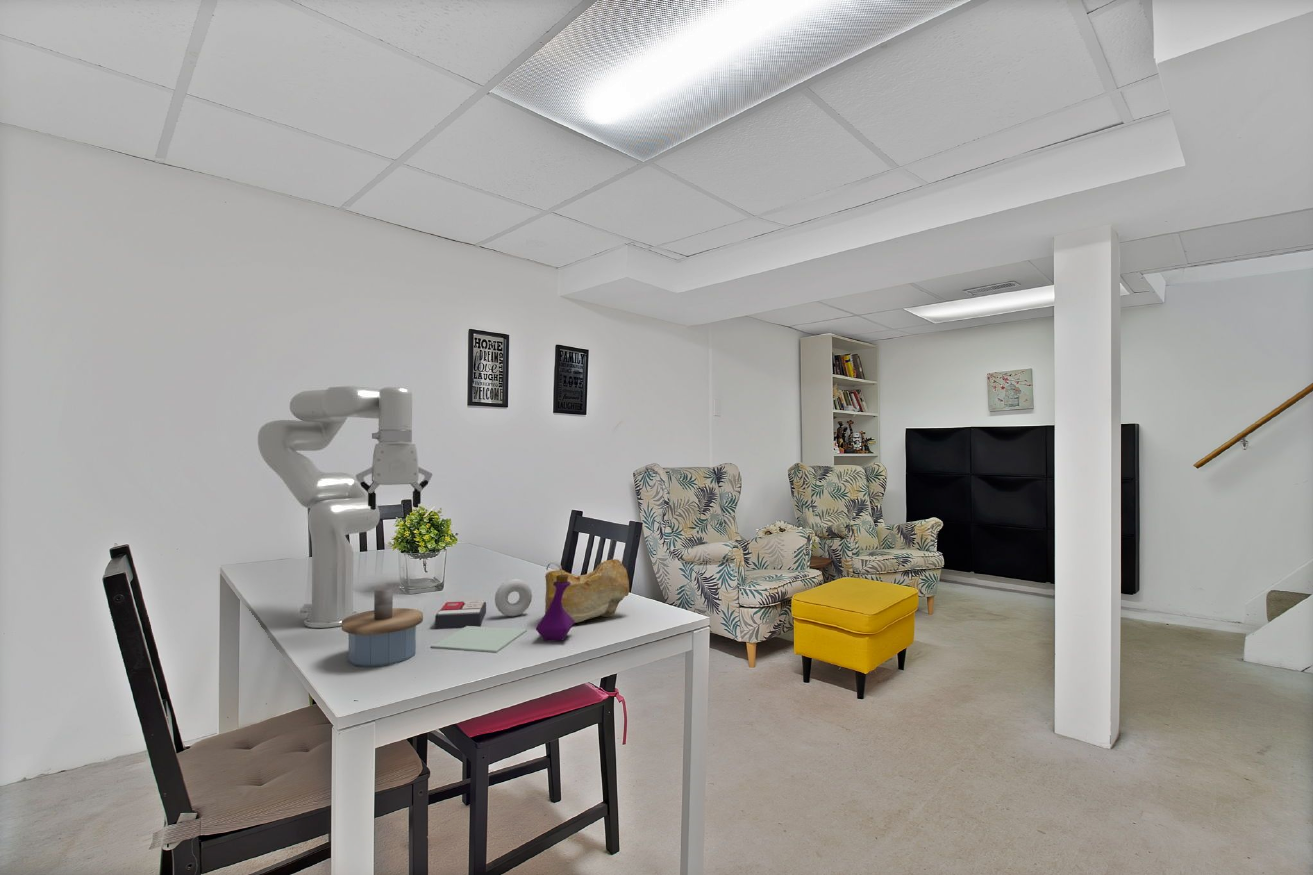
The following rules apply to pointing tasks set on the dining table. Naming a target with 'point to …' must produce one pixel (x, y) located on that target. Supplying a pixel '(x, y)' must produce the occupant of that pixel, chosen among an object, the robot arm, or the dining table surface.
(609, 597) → the rough brown rock
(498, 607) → the donut
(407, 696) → the dining table surface
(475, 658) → the dining table surface
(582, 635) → the dining table surface
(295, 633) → the dining table surface
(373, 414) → the robot arm
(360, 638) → the bowl
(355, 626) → the lid
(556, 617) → the perfume bottle
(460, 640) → the mat
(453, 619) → the flat rectangular box
